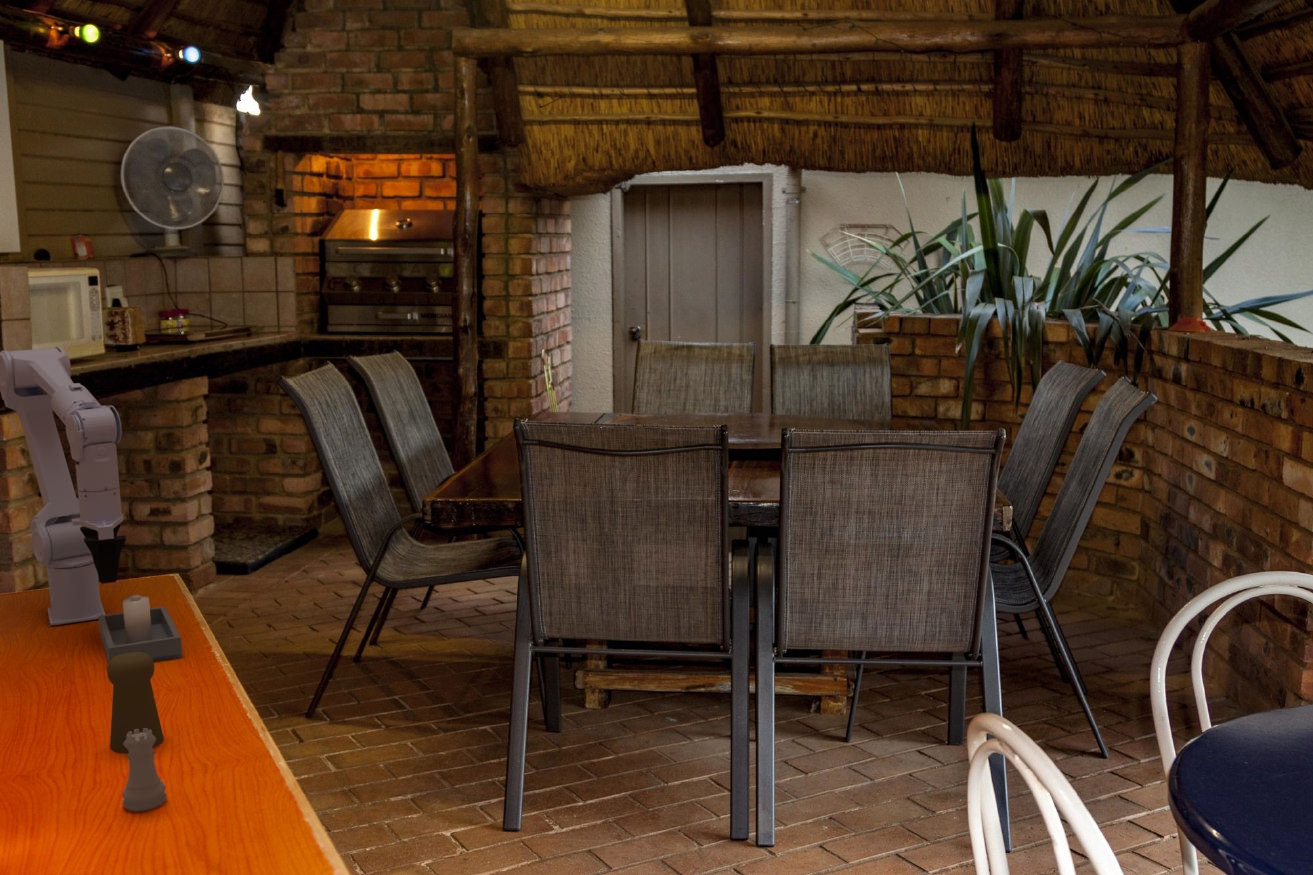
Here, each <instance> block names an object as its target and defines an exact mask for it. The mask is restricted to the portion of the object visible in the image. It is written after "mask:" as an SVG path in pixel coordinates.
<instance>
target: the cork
mask: <svg viewBox="0 0 1313 875" xmlns="http://www.w3.org/2000/svg"><path fill="white" fill-rule="evenodd" d="M106 666H107V667H106V672H107V678H108V681H109V682H110V683H111V684H112V687H113V688H112V689H113V690H112V704H111V719H110V720H111V723H110V725H111V726H110V739H109V740H110V741H109V749H110V751H112V752H113V753H118V754H125V755H126V754H127V755H128V754H129V751H128V749H127V748H126V747H125V746H124V745H123V743H124V742H125V740H126V739H127V738H126V735H127V733H128V732H130V731H131V732H132V734H134V730H135V729H139V733H141V732H143V728H148V730H150V729H151V730H152V735H153V736H155V737H156V741H155V743H154V744H153V746H152V748H153V749H155V748H156V747H159V746H160V745H162V744H163V742H164V741H165V738H164V733H163V730H162V729H163V728H162V726H161V721H160V720H161V719H160V716H159V712H158V707H157V703H156V698H155V695H154V691H153V687H152V681H151V679H152V678H153V676H154V673H155V662H153V660H152V658H151V657H150V655H148V654H146V653H142V652H130V653H124V654H121V655H118V656H116V657H114V658H112V659H111V660H110V662H109V663H108V664H107V665H106Z"/></svg>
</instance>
